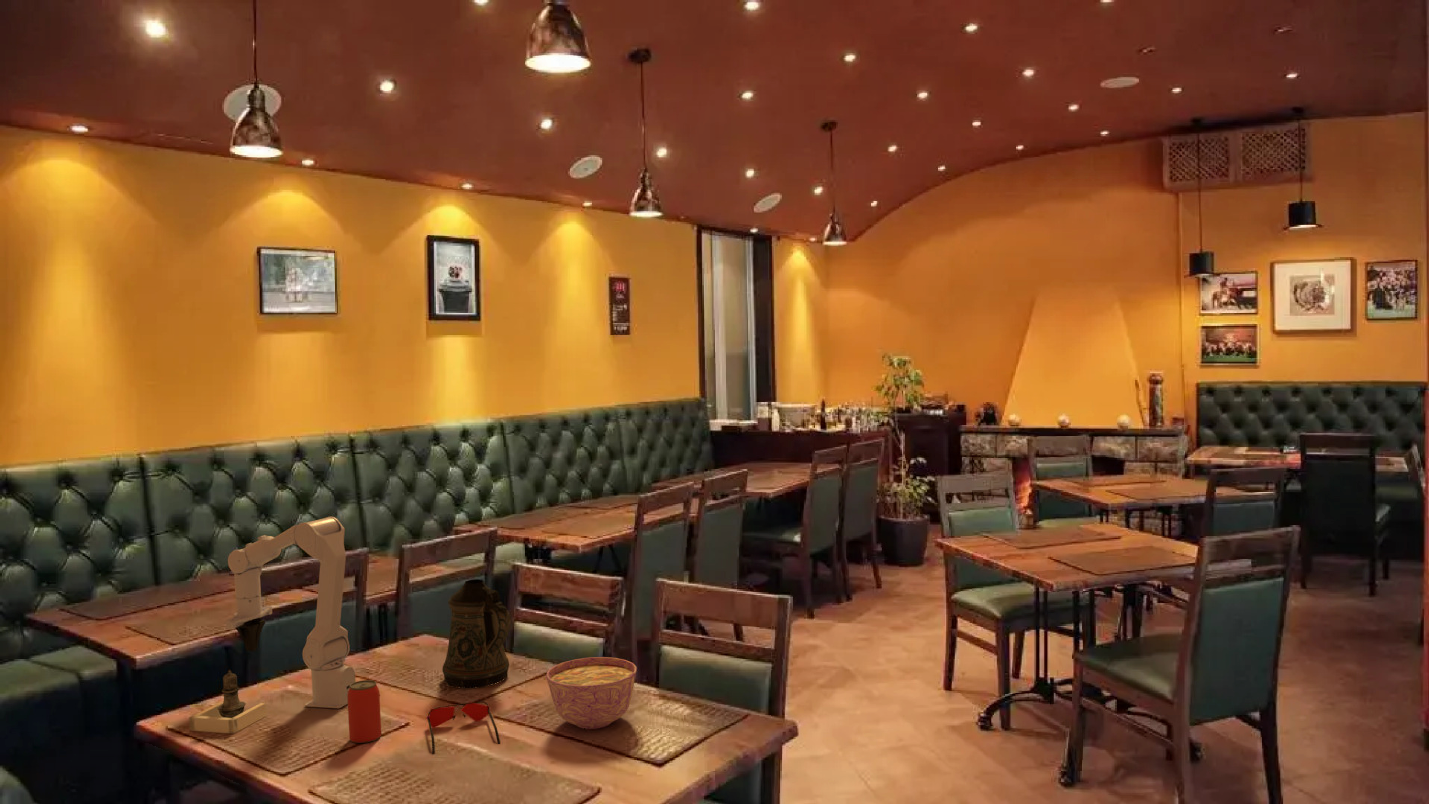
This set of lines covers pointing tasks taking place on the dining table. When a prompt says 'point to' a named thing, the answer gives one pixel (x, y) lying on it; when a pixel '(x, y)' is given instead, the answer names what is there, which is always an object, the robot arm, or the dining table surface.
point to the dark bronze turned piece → (231, 697)
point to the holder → (225, 719)
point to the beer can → (364, 711)
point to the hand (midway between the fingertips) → (251, 650)
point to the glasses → (447, 713)
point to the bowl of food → (592, 690)
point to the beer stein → (476, 637)
